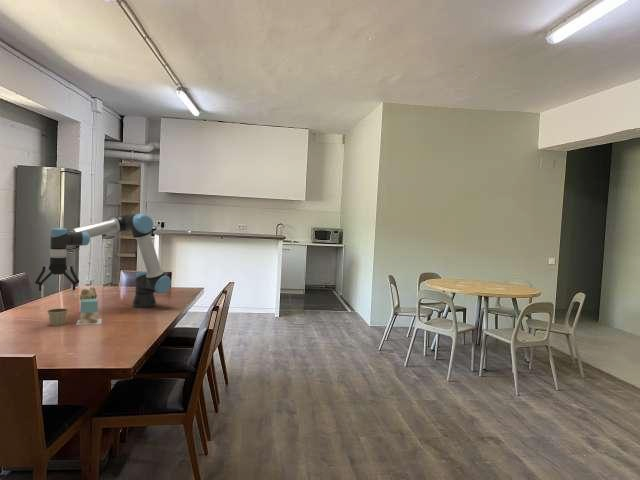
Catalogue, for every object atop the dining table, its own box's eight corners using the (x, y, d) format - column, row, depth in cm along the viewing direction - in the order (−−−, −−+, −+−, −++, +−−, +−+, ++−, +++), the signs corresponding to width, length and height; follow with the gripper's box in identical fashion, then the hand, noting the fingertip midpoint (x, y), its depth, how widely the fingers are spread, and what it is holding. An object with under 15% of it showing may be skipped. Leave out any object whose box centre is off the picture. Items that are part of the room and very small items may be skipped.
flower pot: (46, 328, 231) (46, 312, 231) (47, 324, 239) (48, 309, 239) (67, 327, 235) (67, 311, 235) (67, 323, 244) (68, 308, 243)
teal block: (97, 309, 250) (97, 298, 250) (97, 312, 243) (97, 301, 243) (81, 309, 247) (81, 299, 247) (80, 312, 240) (80, 301, 240)
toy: (88, 314, 267) (88, 289, 266) (76, 313, 269) (76, 288, 268) (99, 311, 277) (100, 287, 276) (87, 310, 278) (88, 286, 278)
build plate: (101, 320, 253) (101, 318, 253) (100, 325, 243) (101, 323, 243) (77, 321, 248) (77, 320, 248) (76, 326, 238) (76, 324, 238)
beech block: (97, 319, 251) (97, 309, 250) (97, 322, 244) (97, 312, 243) (81, 320, 247) (81, 309, 247) (80, 323, 240) (80, 312, 240)
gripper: (85, 256, 244) (84, 294, 245) (31, 256, 234) (30, 296, 235) (84, 257, 238) (83, 297, 238) (29, 257, 227) (28, 298, 228)
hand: (57, 296), depth 236 cm, fingers open, 13 cm apart
